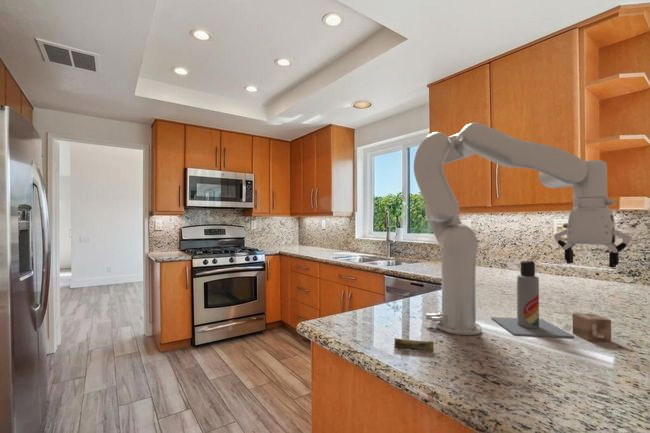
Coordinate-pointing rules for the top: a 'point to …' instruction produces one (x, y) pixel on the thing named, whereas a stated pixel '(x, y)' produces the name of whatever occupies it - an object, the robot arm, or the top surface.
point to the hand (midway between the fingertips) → (590, 265)
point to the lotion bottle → (528, 296)
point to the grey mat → (542, 331)
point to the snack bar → (414, 345)
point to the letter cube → (592, 327)
